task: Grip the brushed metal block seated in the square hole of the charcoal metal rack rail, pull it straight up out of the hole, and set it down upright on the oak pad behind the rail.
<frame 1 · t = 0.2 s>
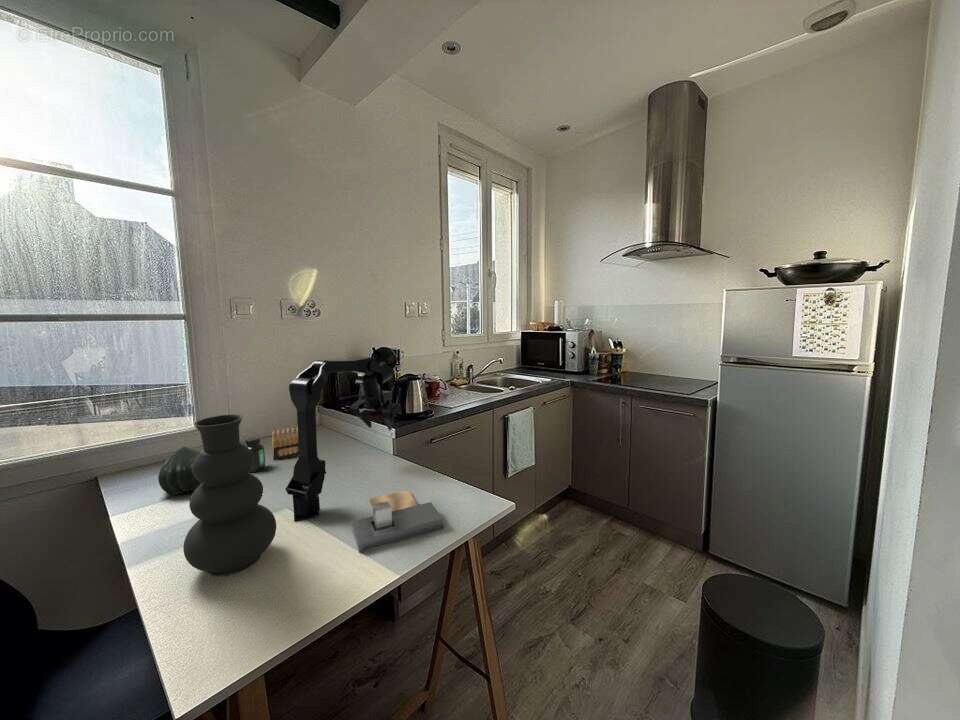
hand: (380, 428, 142), 15 cm above the table, tool pointing down, fingers open, 9 cm apart
supplement bottle: (255, 469, 146), on the table
brushed metal block: (383, 534, 102), resting in rack rail
ammunition clip: (288, 457, 158), on the table
oak pad: (394, 506, 117), on the table
squash: (189, 489, 130), on the table
vase: (235, 562, 92), on the table
rack rail: (398, 530, 104), on the table
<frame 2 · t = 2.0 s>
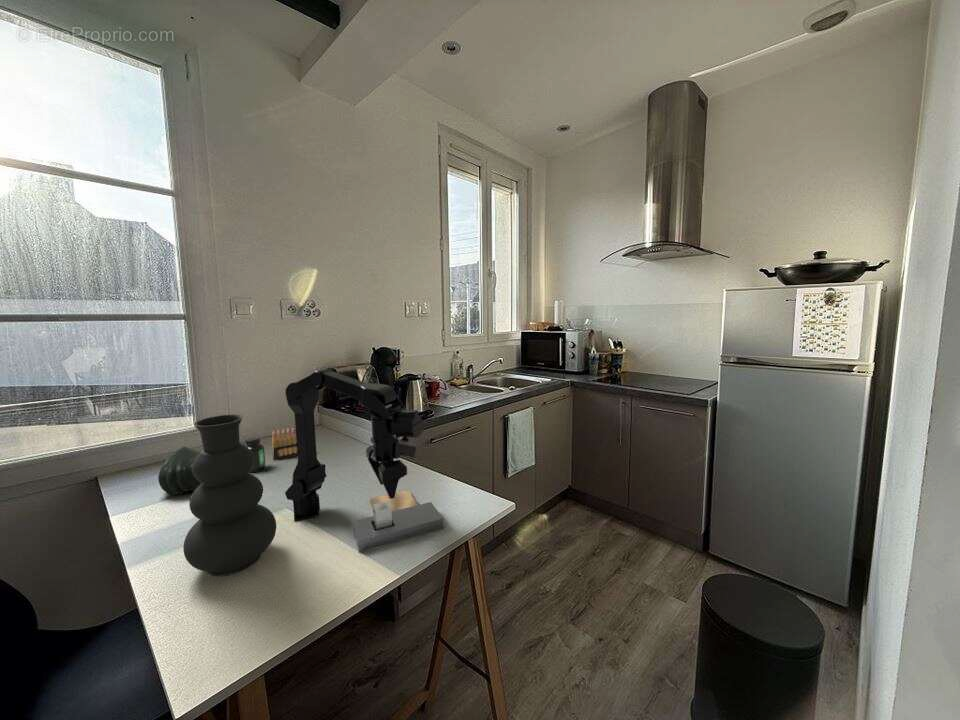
hand: (387, 490, 103), 11 cm above the table, tool pointing down, fingers open, 9 cm apart
nothing on the table moved.
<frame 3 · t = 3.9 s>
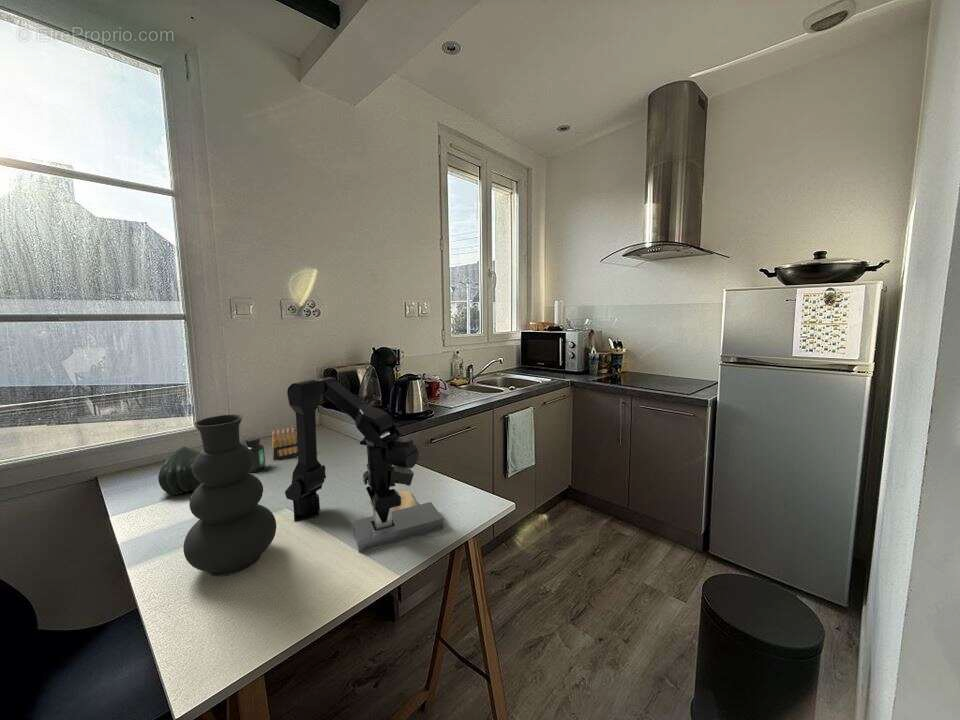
hand: (382, 518, 102), 5 cm above the table, tool pointing down, fingers closed on brushed metal block, 4 cm apart
brushed metal block: (383, 534, 102), resting in rack rail, touching gripper
everything else where it was.
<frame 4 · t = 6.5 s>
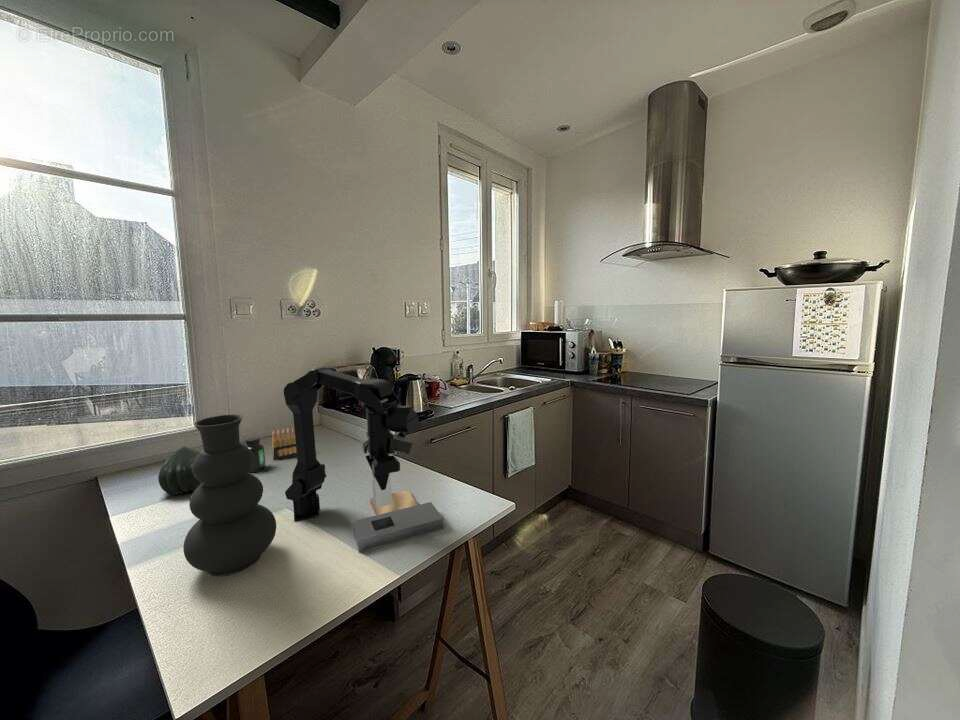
hand: (381, 486, 102), 13 cm above the table, tool pointing down, fingers closed on brushed metal block, 4 cm apart
brushed metal block: (382, 502, 103), point 8 cm above the table, touching gripper
everything else where it was.
when the fingers open (7 cm above the table, at t = 8.9 s): brushed metal block drops 1 cm, resting on oak pad.
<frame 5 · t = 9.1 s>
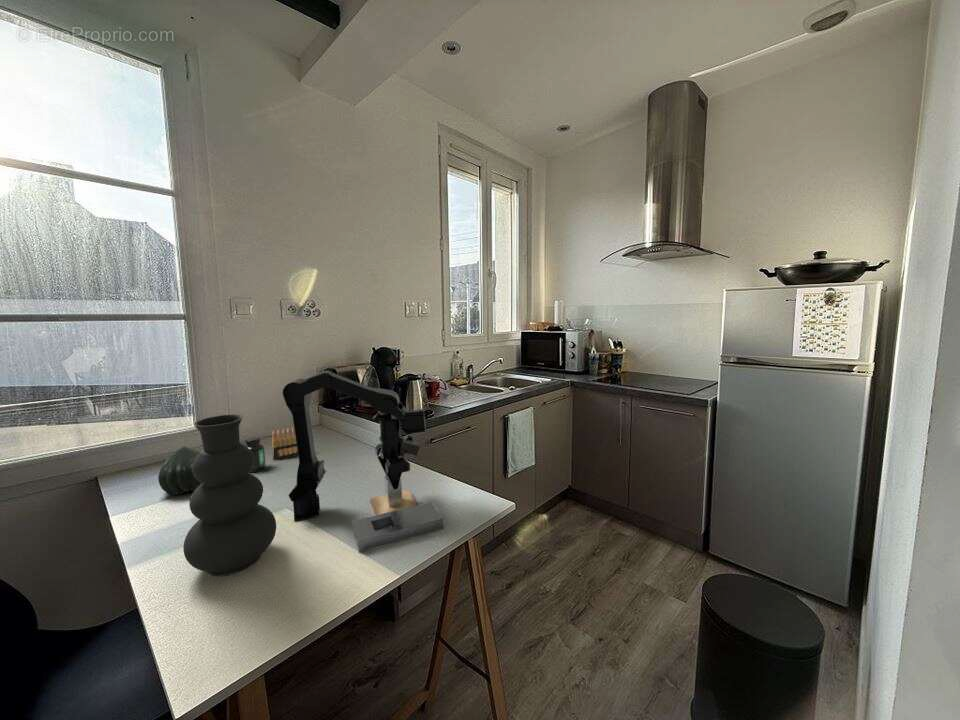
hand: (393, 484, 116), 7 cm above the table, tool pointing down, fingers open, 6 cm apart
brushed metal block: (394, 502, 116), point 1 cm above the table, touching oak pad
everything else where it was.
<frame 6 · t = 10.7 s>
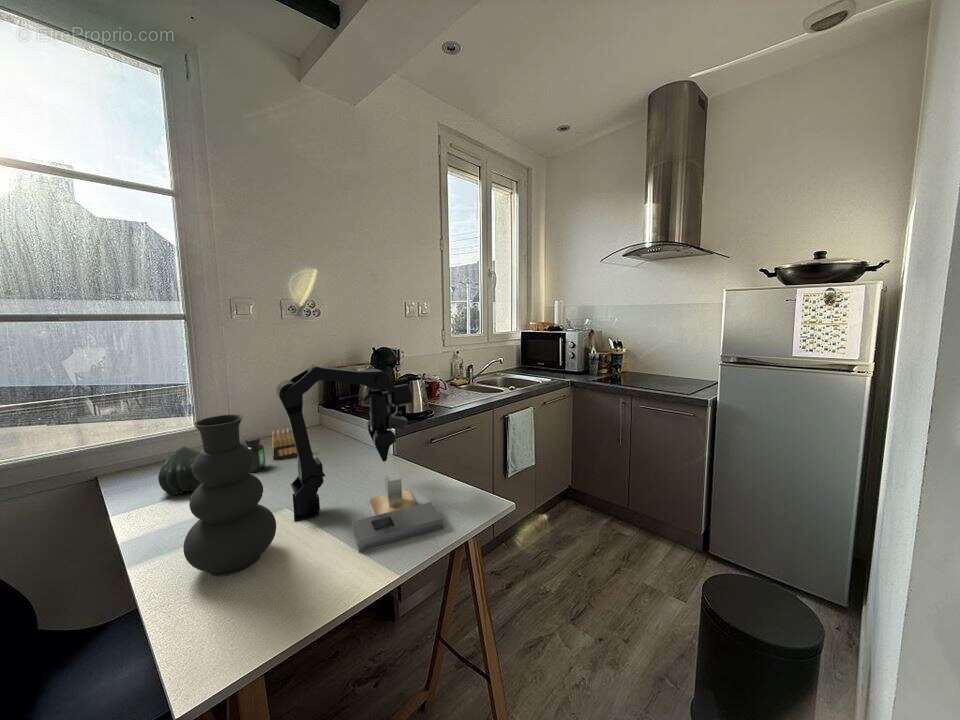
hand: (382, 456, 125), 12 cm above the table, tool pointing down, fingers open, 9 cm apart
nothing on the table moved.
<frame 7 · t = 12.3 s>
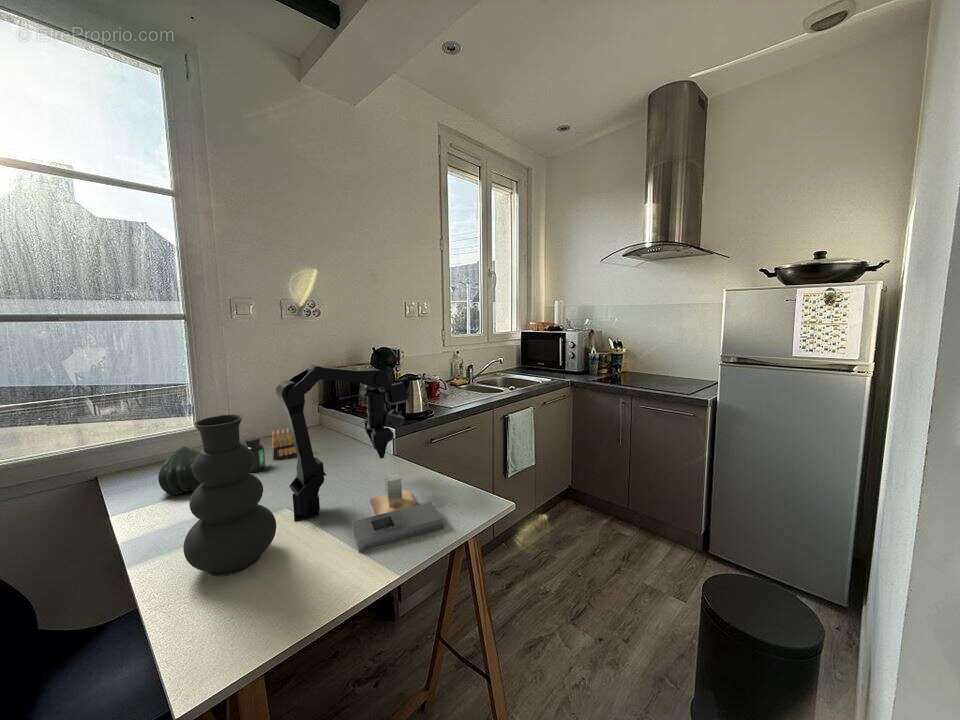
hand: (379, 453, 127), 12 cm above the table, tool pointing down, fingers open, 9 cm apart
nothing on the table moved.
at the end: brushed metal block inside the target area on the oak pad (0.0 cm from its centre), point 1.2 cm above the oak pad's base; brushed metal block tilted 0°; the gripper is holding nothing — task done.
